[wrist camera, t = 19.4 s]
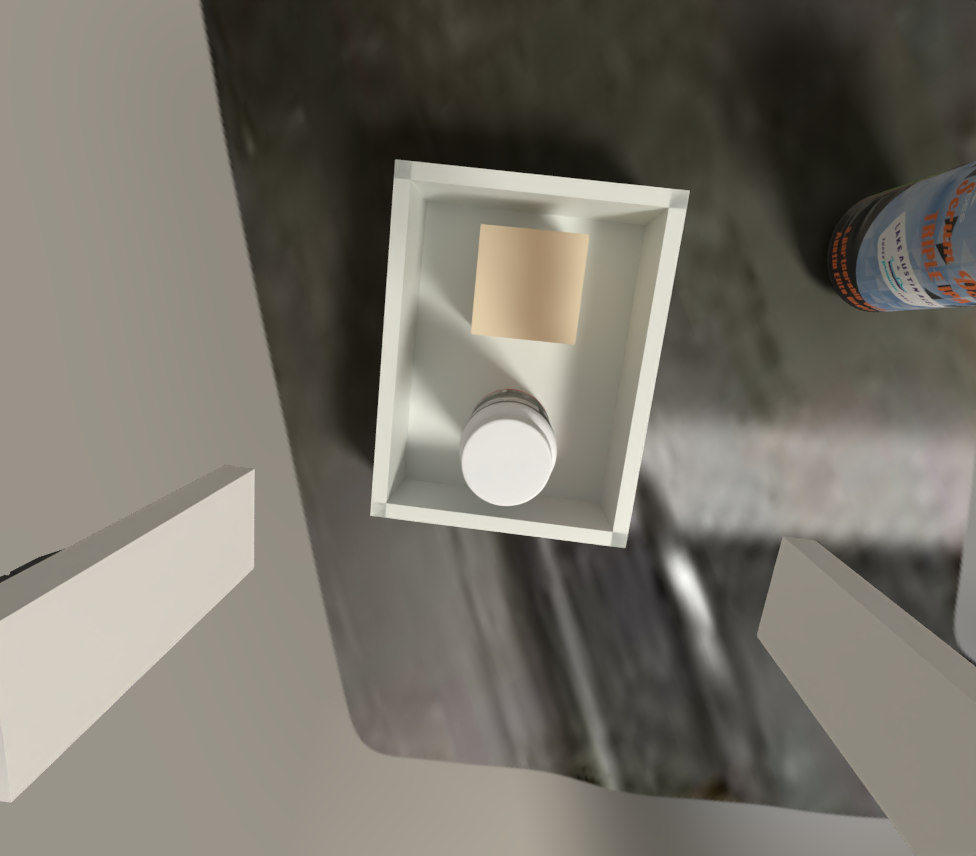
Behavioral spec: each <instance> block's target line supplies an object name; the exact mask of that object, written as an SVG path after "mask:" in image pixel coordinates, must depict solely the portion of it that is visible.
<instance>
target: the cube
mask: <svg viewBox="0 0 976 856" xmlns="http://www.w3.org/2000/svg"><path fill="white" fill-rule="evenodd" d="M589 236H590V234H579V233H569V232H559V231H548V230H538V229H527V228H517V227H506V226H496V225H486V224H481V227H480V238H479V249H478V260H477V271H476V282H475V293H474V304H473V315H472V326H471V334H475V335H484V336H494V337H504V338H513V339H523V340H533V341H543V342H552V343H562V344H572V345H575V341H576V333H577V326H578V318H579V311H580V303H581V296H582V288H583V281H584V273H585V266H586V258H587V251H588V243H589Z"/></svg>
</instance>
